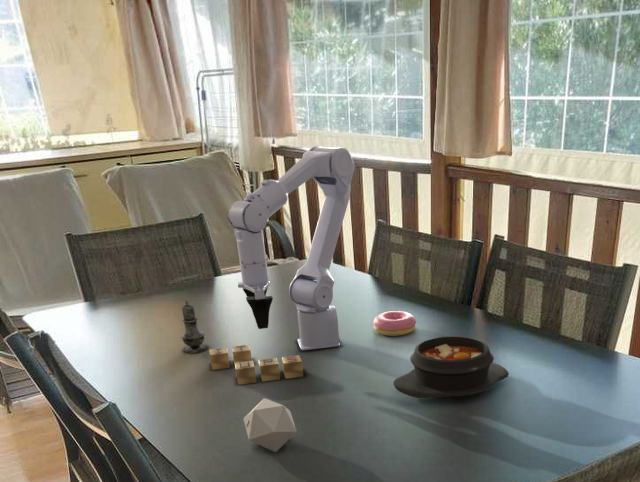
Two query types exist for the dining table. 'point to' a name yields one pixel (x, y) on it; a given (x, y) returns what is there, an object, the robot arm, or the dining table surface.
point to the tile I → (219, 358)
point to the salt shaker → (192, 330)
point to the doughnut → (394, 323)
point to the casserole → (450, 369)
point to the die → (270, 425)
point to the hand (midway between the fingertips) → (261, 323)
